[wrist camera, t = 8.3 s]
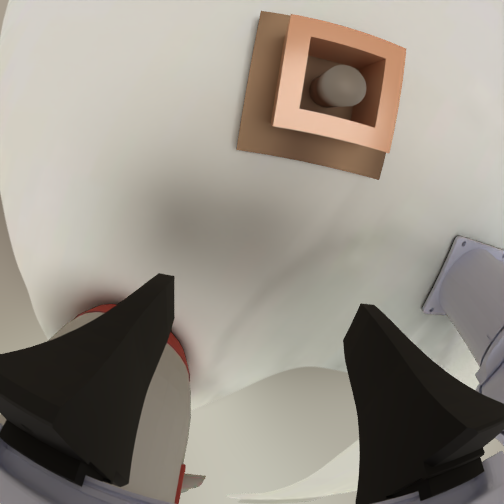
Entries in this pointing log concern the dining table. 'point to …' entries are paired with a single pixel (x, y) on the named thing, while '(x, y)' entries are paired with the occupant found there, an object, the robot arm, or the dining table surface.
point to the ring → (348, 53)
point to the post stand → (302, 106)
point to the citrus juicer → (157, 423)
